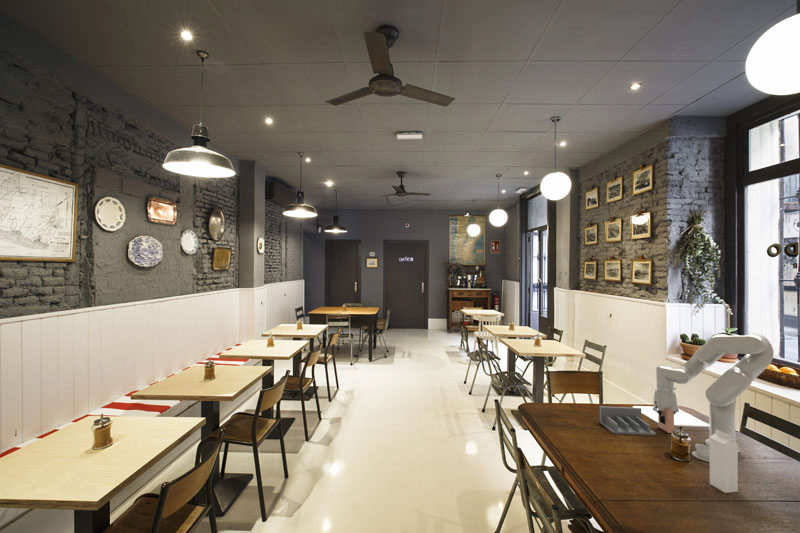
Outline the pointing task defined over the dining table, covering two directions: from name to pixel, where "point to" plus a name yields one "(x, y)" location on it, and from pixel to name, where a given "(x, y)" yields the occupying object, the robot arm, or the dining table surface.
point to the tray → (679, 417)
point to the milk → (723, 462)
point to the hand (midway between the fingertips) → (666, 422)
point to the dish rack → (624, 421)
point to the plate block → (667, 421)
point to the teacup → (702, 452)
